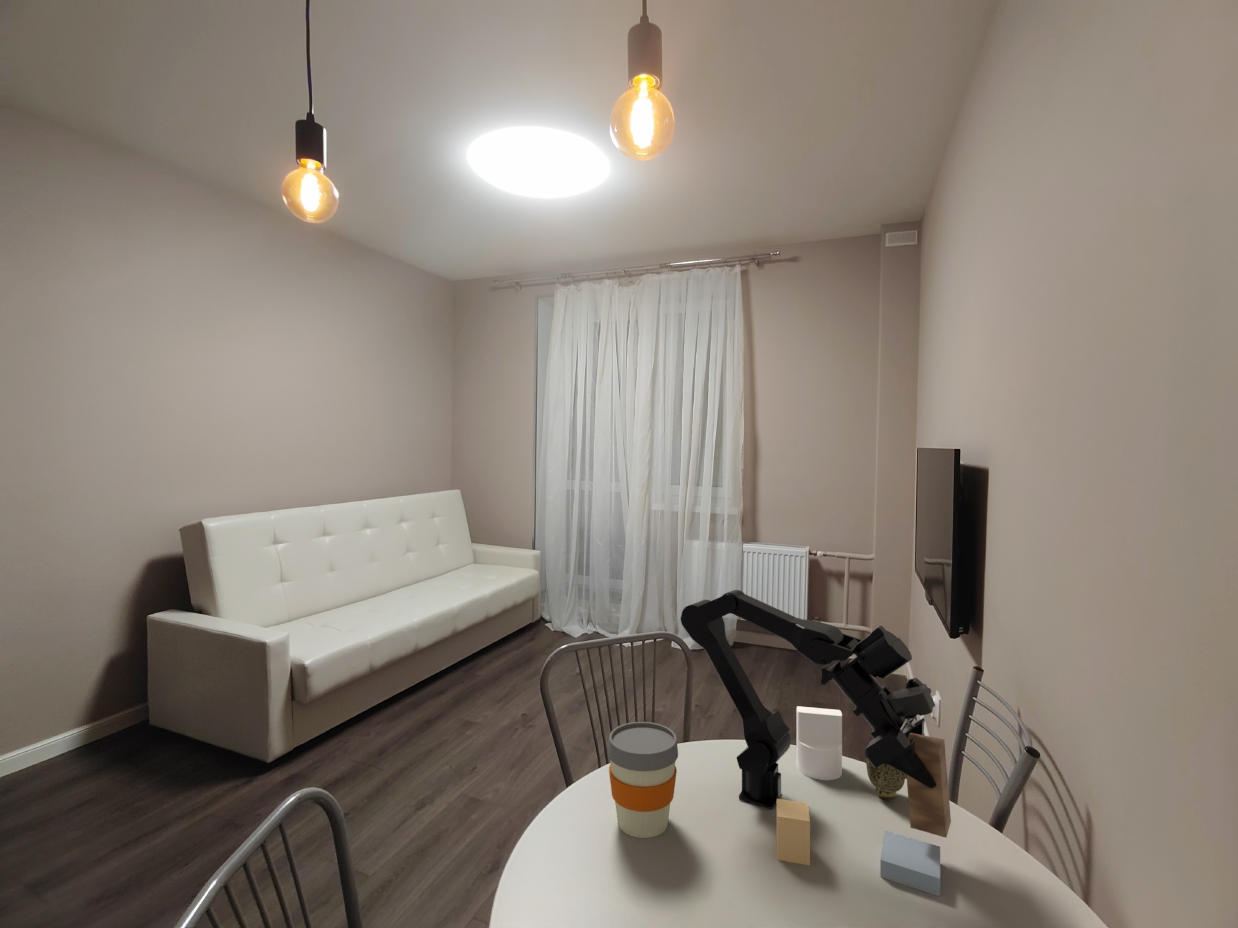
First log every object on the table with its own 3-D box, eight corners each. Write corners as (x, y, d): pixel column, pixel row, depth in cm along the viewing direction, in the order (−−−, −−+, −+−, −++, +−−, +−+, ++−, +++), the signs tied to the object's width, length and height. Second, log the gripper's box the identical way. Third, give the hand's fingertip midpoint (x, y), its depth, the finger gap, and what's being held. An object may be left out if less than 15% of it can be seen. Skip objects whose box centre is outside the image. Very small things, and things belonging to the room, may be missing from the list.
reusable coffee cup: (593, 819, 101) (593, 735, 101) (644, 792, 110) (644, 714, 110) (641, 855, 92) (641, 762, 92) (693, 823, 100) (693, 738, 100)
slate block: (880, 878, 87) (880, 859, 87) (884, 848, 94) (884, 830, 94) (940, 898, 83) (940, 878, 83) (940, 865, 90) (940, 846, 90)
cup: (912, 809, 104) (912, 765, 104) (869, 804, 106) (869, 761, 106) (901, 787, 111) (901, 746, 112) (861, 782, 113) (861, 742, 113)
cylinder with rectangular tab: (798, 777, 115) (798, 718, 115) (794, 755, 124) (794, 700, 124) (845, 782, 113) (845, 722, 113) (838, 759, 122) (838, 704, 122)
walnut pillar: (910, 827, 90) (904, 744, 91) (916, 812, 94) (910, 732, 95) (946, 837, 87) (939, 751, 88) (950, 821, 91) (944, 739, 92)
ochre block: (777, 859, 91) (777, 816, 91) (776, 839, 96) (776, 798, 96) (810, 865, 90) (810, 820, 90) (807, 844, 95) (807, 802, 95)
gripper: (888, 684, 86) (972, 782, 79) (912, 652, 101) (985, 732, 94) (834, 720, 91) (909, 816, 84) (865, 685, 106) (931, 763, 99)
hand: (936, 779), depth 90 cm, fingers closed on walnut pillar, 5 cm apart
